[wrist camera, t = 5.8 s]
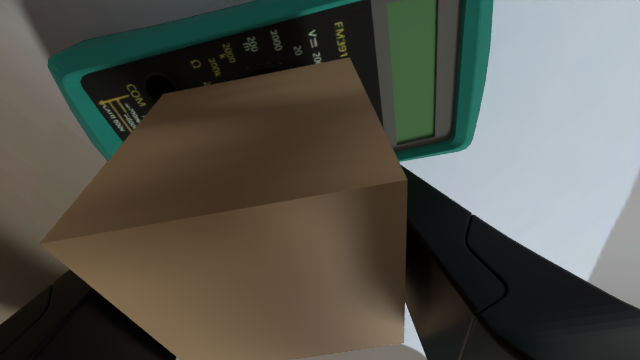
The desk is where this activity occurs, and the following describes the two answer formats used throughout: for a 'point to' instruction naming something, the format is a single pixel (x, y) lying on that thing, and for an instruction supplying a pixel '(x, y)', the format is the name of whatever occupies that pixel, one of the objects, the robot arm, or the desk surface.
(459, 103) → the digital multimeter
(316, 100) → the walnut cube
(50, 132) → the desk surface
